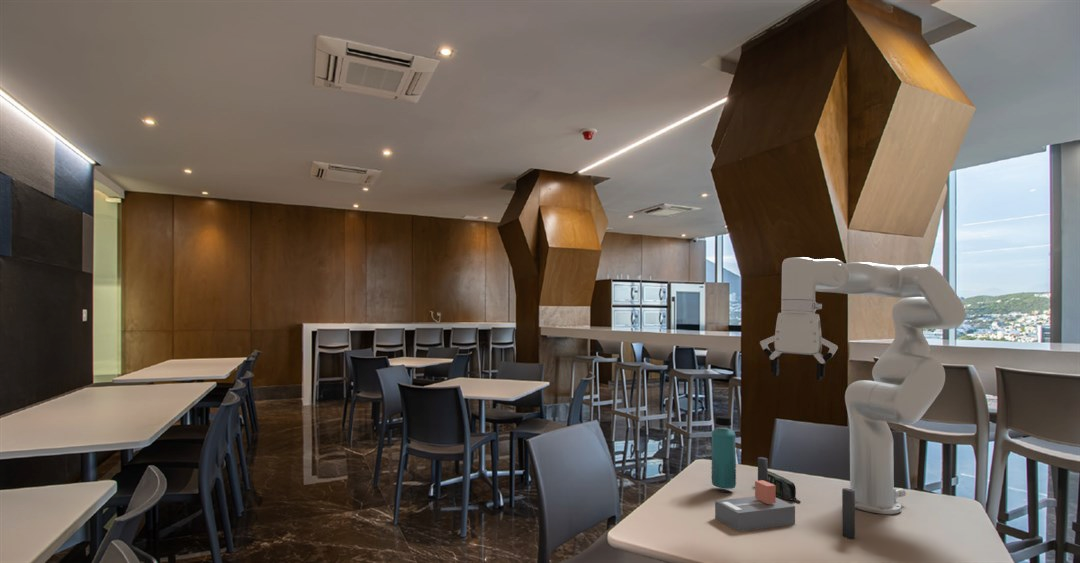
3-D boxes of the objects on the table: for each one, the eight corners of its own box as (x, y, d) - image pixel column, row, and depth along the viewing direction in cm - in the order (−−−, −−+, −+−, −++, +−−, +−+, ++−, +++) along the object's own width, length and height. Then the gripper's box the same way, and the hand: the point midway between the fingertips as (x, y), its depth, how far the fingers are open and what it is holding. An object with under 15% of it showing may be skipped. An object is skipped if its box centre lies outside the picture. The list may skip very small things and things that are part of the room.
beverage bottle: (738, 495, 142) (738, 419, 143) (712, 493, 143) (712, 417, 144) (734, 487, 148) (734, 414, 149) (709, 485, 150) (709, 413, 151)
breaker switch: (763, 497, 128) (763, 480, 128) (775, 502, 124) (775, 485, 125) (754, 498, 127) (755, 481, 128) (767, 503, 124) (767, 486, 124)
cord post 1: (762, 495, 143) (763, 457, 144) (769, 498, 141) (769, 459, 141) (755, 495, 142) (755, 457, 143) (762, 498, 140) (762, 460, 141)
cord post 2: (848, 533, 119) (847, 487, 119) (857, 538, 116) (857, 491, 117) (839, 535, 118) (839, 488, 118) (849, 539, 115) (849, 492, 116)
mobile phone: (755, 468, 152) (792, 484, 137) (765, 468, 152) (802, 483, 138) (756, 486, 151) (793, 504, 137) (765, 486, 152) (803, 503, 137)
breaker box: (769, 511, 131) (769, 494, 131) (795, 523, 124) (795, 505, 124) (715, 518, 126) (715, 500, 126) (738, 531, 118) (738, 512, 118)
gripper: (839, 309, 130) (839, 380, 129) (764, 307, 140) (763, 373, 139) (835, 308, 124) (835, 382, 123) (757, 306, 134) (756, 375, 133)
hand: (797, 377), depth 131 cm, fingers open, 9 cm apart
